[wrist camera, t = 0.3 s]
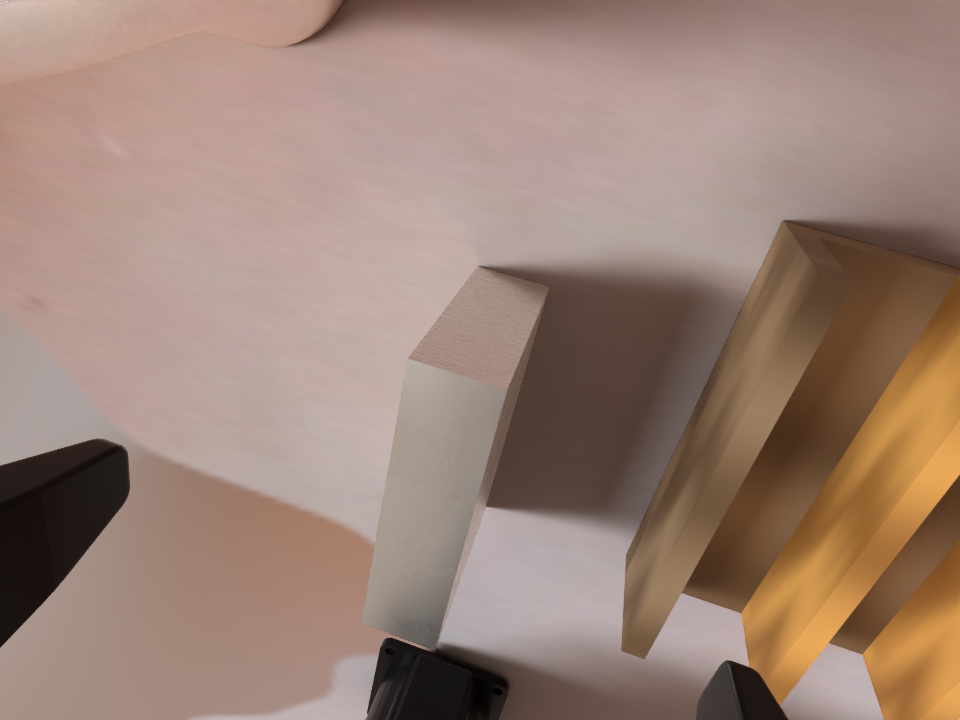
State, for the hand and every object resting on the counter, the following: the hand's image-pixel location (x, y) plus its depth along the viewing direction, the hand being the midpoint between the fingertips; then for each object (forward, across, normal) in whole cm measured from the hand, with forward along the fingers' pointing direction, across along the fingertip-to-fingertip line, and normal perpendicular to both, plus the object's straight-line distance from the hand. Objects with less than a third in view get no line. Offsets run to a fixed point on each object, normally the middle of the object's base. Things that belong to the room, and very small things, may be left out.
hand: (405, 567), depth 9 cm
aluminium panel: (+14, +1, +5) cm, 15 cm away
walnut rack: (+13, -13, +3) cm, 19 cm away
